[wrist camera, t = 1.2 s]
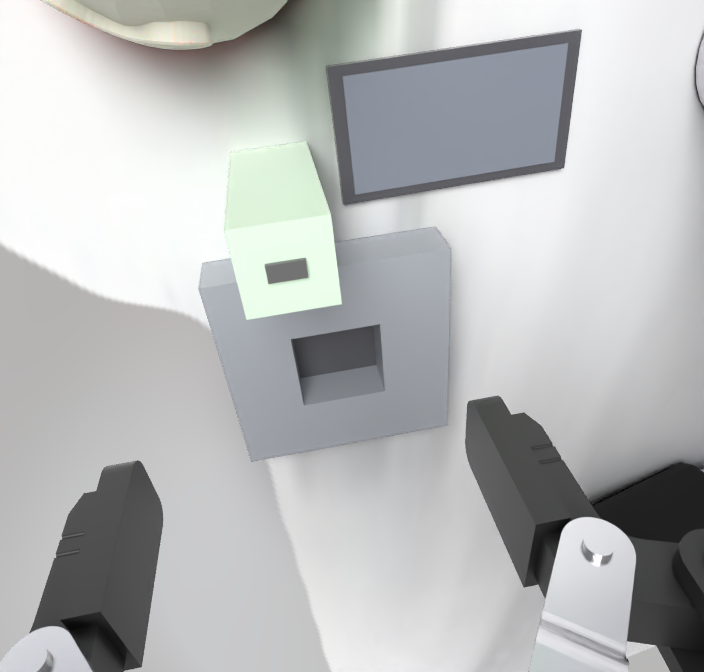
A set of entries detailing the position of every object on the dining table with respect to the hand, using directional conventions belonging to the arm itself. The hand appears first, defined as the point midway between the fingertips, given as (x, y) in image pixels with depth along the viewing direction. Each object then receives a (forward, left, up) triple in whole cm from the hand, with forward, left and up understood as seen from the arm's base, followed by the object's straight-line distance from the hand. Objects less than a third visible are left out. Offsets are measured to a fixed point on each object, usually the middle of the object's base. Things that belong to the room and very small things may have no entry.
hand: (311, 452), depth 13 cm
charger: (0, 0, -20) cm, 20 cm away
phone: (-10, -2, -20) cm, 23 cm away
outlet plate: (-2, +11, -20) cm, 23 cm away
